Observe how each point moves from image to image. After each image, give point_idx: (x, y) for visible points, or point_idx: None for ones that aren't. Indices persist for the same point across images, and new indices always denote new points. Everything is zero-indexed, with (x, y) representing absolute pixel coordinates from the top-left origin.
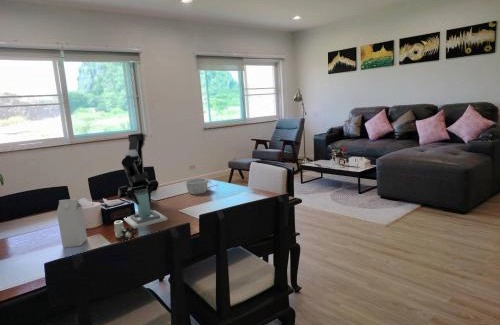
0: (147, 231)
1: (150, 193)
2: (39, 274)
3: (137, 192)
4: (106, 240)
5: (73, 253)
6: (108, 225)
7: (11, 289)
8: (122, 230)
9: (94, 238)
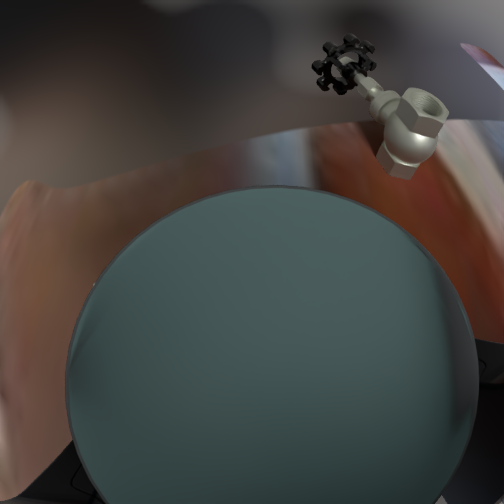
0: (258, 153)
1: (67, 447)
2: (492, 76)
3: (436, 364)
4: (442, 153)
5: (492, 121)
6: None
7: (496, 62)
8: (370, 44)
9: (498, 205)
